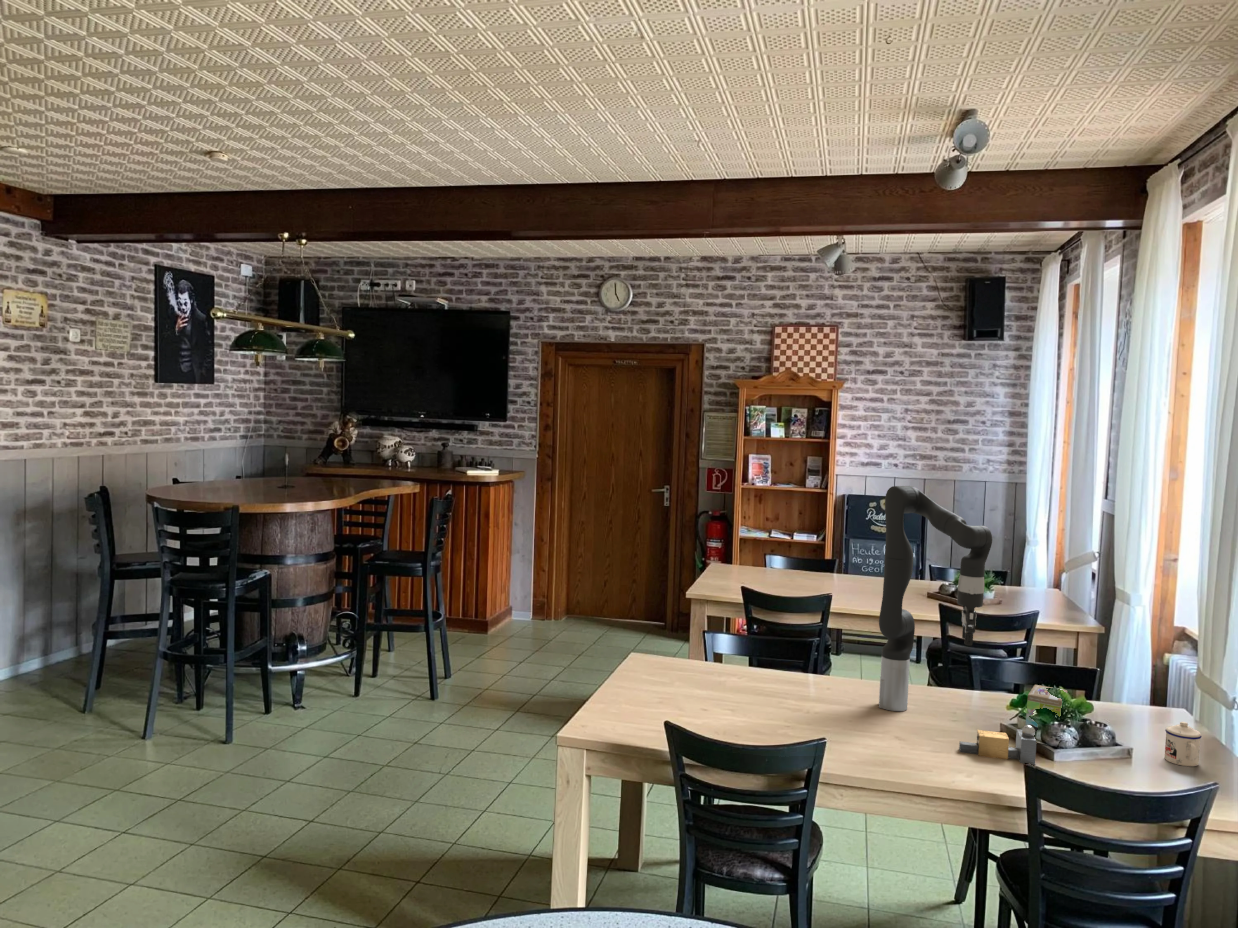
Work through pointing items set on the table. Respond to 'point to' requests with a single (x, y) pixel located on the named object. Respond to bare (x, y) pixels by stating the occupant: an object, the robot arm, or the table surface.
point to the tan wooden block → (992, 744)
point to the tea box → (1041, 703)
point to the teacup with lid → (1182, 745)
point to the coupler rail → (1022, 751)
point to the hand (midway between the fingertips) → (967, 641)
